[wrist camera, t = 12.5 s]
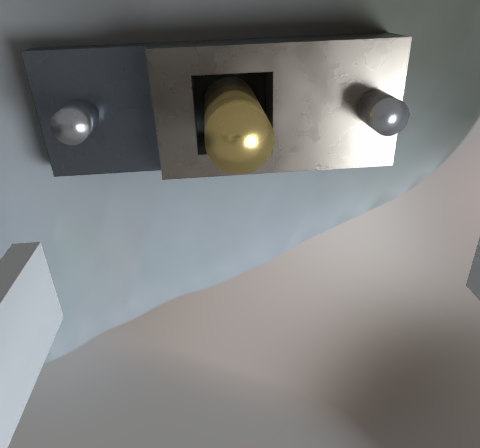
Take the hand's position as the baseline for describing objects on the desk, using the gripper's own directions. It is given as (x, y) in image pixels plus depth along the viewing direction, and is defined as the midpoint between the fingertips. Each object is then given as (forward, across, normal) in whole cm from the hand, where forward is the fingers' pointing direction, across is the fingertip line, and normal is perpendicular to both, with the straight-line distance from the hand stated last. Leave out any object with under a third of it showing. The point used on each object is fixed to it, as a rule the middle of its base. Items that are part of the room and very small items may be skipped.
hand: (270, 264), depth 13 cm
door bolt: (+23, 0, 0) cm, 23 cm away
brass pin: (+23, 0, 0) cm, 23 cm away
